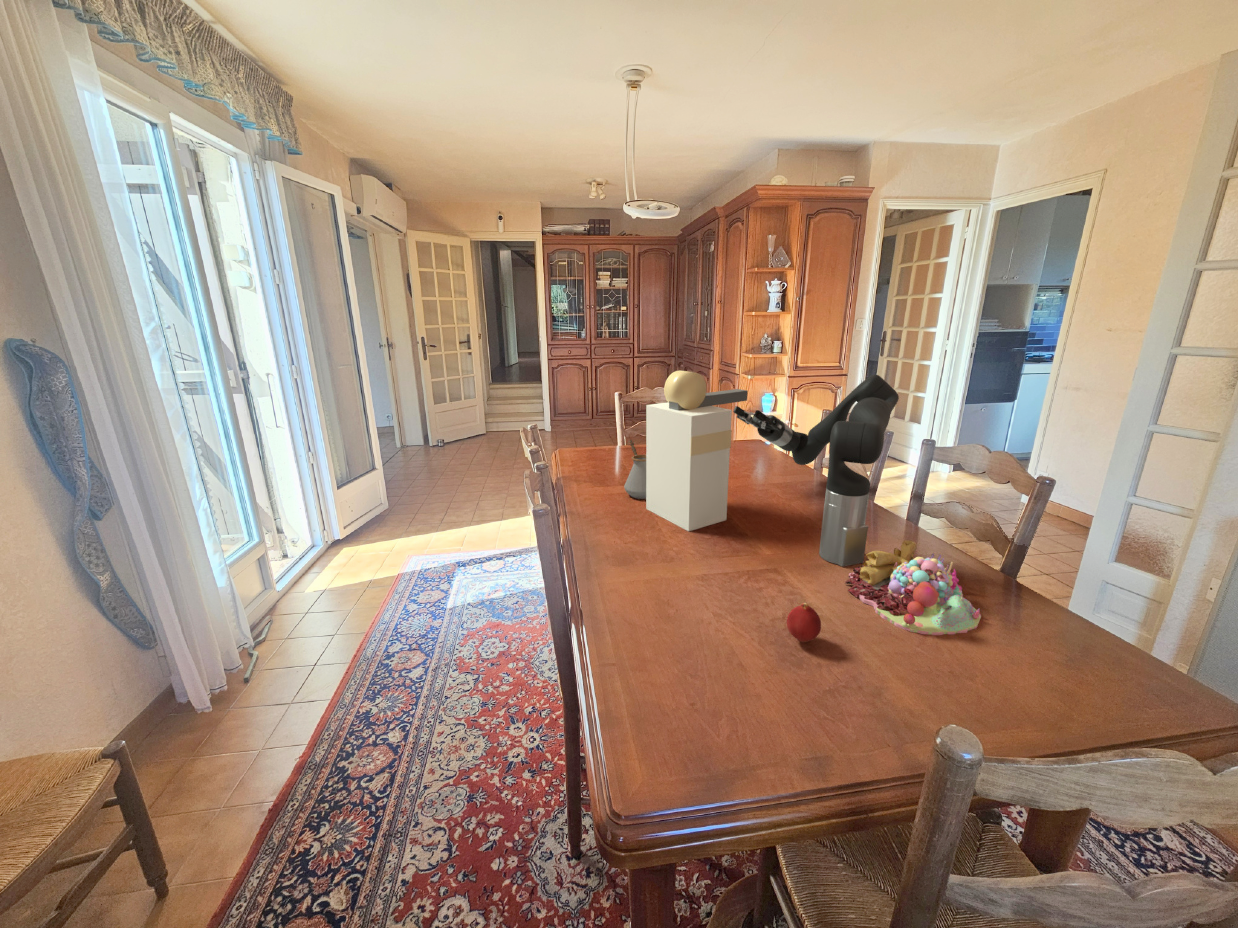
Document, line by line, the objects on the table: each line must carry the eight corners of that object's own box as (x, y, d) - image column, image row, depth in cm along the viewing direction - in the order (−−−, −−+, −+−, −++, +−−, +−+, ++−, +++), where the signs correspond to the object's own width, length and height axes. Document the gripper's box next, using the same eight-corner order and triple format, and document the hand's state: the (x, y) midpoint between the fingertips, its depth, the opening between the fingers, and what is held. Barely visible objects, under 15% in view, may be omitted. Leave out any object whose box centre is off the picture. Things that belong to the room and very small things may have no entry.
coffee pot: (663, 499, 163) (664, 454, 158) (628, 502, 160) (628, 456, 156) (646, 478, 183) (646, 438, 178) (615, 481, 180) (614, 440, 176)
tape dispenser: (677, 411, 136) (678, 373, 133) (663, 408, 140) (664, 371, 138) (749, 401, 149) (751, 366, 146) (734, 398, 154) (736, 365, 151)
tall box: (689, 531, 138) (692, 416, 129) (646, 508, 155) (646, 405, 146) (727, 520, 145) (732, 410, 136) (682, 499, 162) (684, 400, 153)
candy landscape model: (824, 581, 113) (828, 543, 110) (903, 562, 121) (909, 526, 118) (924, 647, 90) (932, 602, 88) (1013, 618, 98) (1024, 576, 96)
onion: (792, 627, 96) (796, 590, 94) (823, 639, 92) (828, 600, 90) (780, 642, 92) (783, 604, 89) (812, 655, 88) (816, 615, 86)
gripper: (763, 417, 169) (733, 396, 159) (798, 424, 157) (768, 402, 148) (753, 437, 169) (723, 418, 159) (788, 446, 157) (757, 426, 148)
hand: (745, 411), depth 153 cm, fingers open, 8 cm apart
